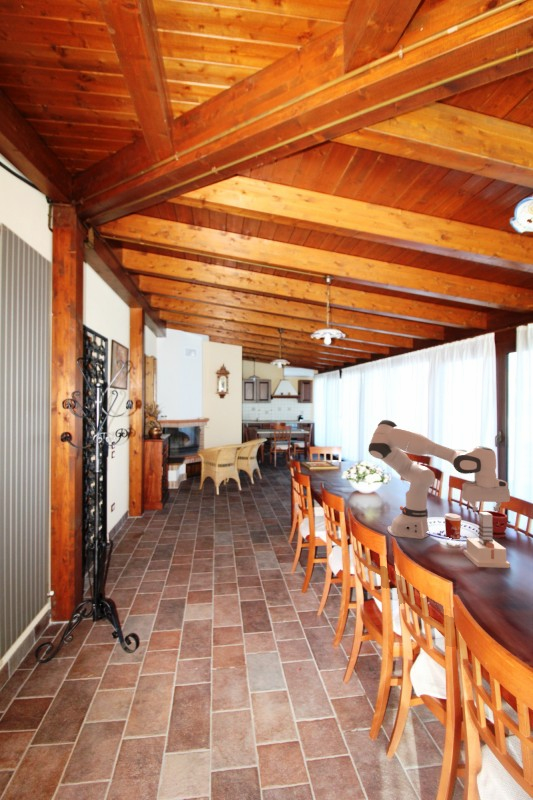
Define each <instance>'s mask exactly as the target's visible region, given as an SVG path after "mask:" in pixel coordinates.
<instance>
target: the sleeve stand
mask: <svg viewBox="0 0 533 800" xmlns="http://www.w3.org/2000/svg"><path fill="white" fill-rule="evenodd" d="M465 539H466V549H463V550H462V551H463V553H462V554H463V555H464V556H465V557H466V558H467V559H469V561H471V562H472V564H474V565H475V566H476V567H478V568H500V569H501V568H503V569H506V568H507V569H510V568H511V563H510V562H509V561H508V560H507V548H506V547H504V546H503V545H501V544H500V543H498V542H497V541H495V539H493V538H492V540H493V542H492V543H489V542H486V546H482V545H481V544H480V543H479V538H475V537H473V538H472V537H471V538H470V537H469V538H468V537H467V538H465Z"/></svg>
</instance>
